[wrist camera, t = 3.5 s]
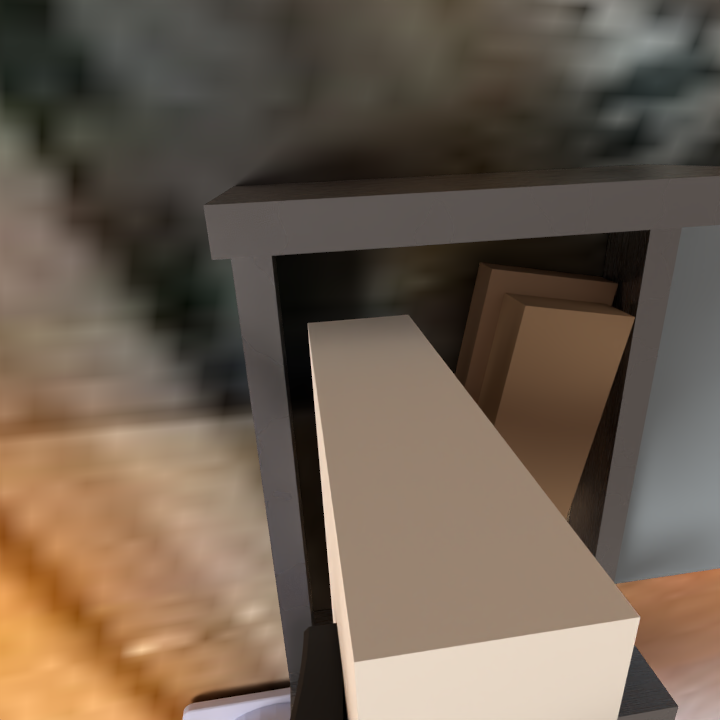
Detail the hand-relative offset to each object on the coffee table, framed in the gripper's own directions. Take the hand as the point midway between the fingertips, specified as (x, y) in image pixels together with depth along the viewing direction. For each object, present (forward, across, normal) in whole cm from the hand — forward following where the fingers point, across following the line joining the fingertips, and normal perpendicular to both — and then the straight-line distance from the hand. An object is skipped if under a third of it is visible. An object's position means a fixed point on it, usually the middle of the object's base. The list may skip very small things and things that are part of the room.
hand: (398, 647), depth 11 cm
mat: (+8, -14, 0) cm, 17 cm away
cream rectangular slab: (+4, 0, 0) cm, 4 cm away
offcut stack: (+9, -6, 0) cm, 11 cm away
